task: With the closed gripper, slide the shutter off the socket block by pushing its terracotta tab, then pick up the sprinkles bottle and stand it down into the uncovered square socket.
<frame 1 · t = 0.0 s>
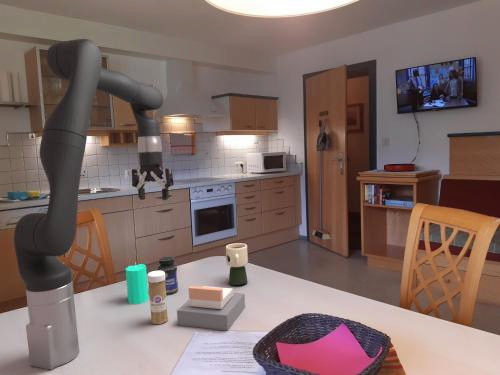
hand: (153, 199, 126), 29 cm above the table, fingers open, 8 cm apart
pill bottle: (168, 292, 123), on the table
candle: (138, 300, 117), on the table
character mug: (238, 284, 127), on the table
shutter: (211, 291, 103), point 7 cm above the table, slide at 0.0 cm
socket block: (212, 315, 104), on the table
sprinkles bottle: (159, 321, 102), on the table
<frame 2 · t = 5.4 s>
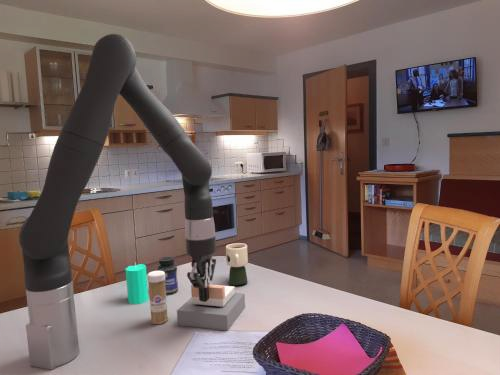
hand: (204, 300, 98), 7 cm above the table, fingers closed
shutter: (213, 289, 105), point 7 cm above the table, slide at 1.5 cm, touching gripper
everything else where it was.
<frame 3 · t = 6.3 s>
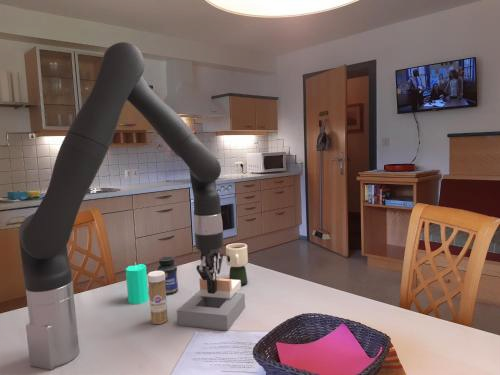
hand: (212, 292, 103), 7 cm above the table, fingers closed
shutter: (220, 282, 110), point 7 cm above the table, slide at 6.7 cm, touching gripper
everything else where it was.
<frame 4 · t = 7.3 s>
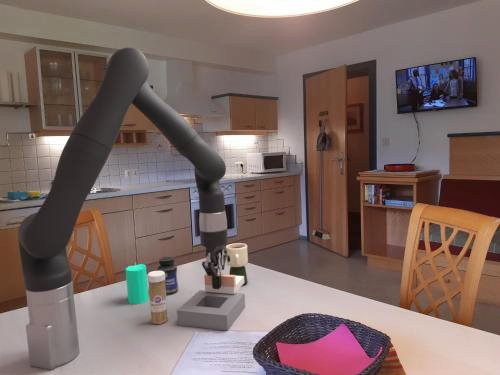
hand: (217, 287, 106), 7 cm above the table, fingers closed
shutter: (224, 278, 113), point 7 cm above the table, slide at 10.0 cm, touching gripper
everything else where it was.
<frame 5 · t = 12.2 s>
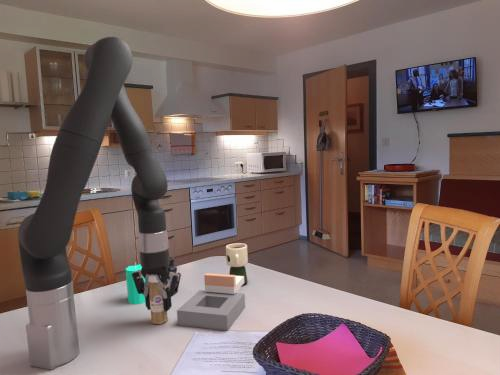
hand: (158, 309, 102), 3 cm above the table, fingers closed on sprinkles bottle, 4 cm apart
shutter: (224, 278, 113), point 7 cm above the table, slide at 10.0 cm
sprinkles bottle: (159, 321, 102), on the table, touching gripper
everything else where it was.
when the fingers open (5 cm above the table, at t = 18.3 s): sprinkles bottle drops 2 cm, resting in socket block.
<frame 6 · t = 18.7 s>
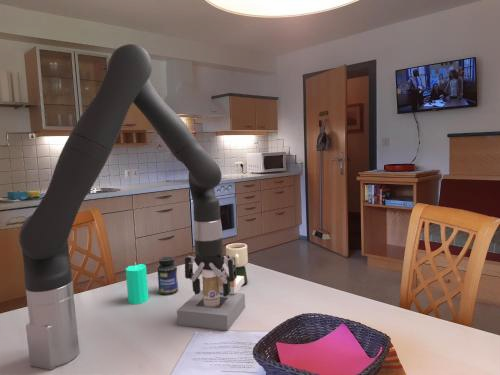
hand: (211, 294, 103), 6 cm above the table, fingers open, 8 cm apart
sprinkles bottle: (212, 316, 104), resting in socket block
everything else where it was.
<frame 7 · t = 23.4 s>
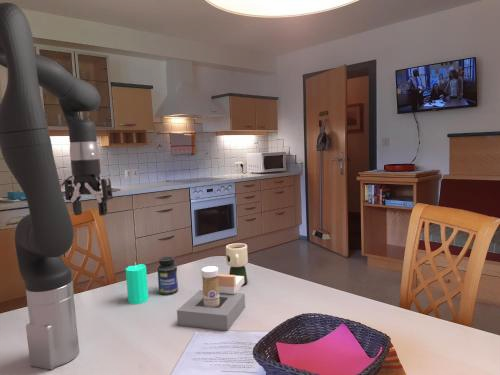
hand: (90, 215, 108), 28 cm above the table, fingers open, 8 cm apart
nothing on the table moved.
at the end: shutter slide at 10.0 cm; sprinkles bottle 0.1 cm off-centre on the socket block, point 0.0 cm above the socket block's base; sprinkles bottle tilted 0° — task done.
